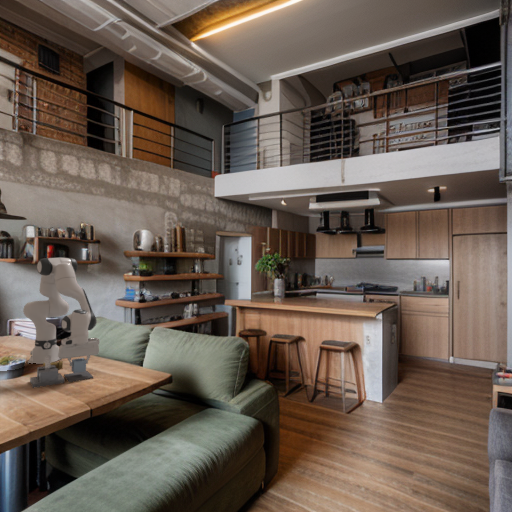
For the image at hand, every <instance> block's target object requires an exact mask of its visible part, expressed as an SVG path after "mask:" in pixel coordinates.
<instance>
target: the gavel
mask: <svg viewBox="0 0 512 512" xmlns="http://www.w3.org/2000/svg"><path fill="white" fill-rule="evenodd" d="M63 363H64V362H63V361H62V360H58V362H57V361H55V362H51V363H50V365H55V366H56V368H57V369H58V370H60V369H61V368H62V369H63ZM43 366H45V363H43V365H42V367H43ZM62 369H61V370H62Z"/></svg>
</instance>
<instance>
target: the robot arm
mask: <svg viewBox="0 0 512 512" xmlns="http://www.w3.org/2000/svg"><path fill="white" fill-rule="evenodd" d="M36 266H37V267H36V268H37V269H36V270H37V272H38V274H39V275H41V277H40V283H39V293H40V294H41V295H42V296H43V297H46V298H48V299H47V300H34V301H29V302H26V303H25V305H24V307H23V308H22V309H23V310H22V312H23V314H24V316H25V318H28V319H29V320H30V321H31V322H32V323H33V324H34V328H35V339H34V347H33V348H32V350H30V354H29V355H30V357H29V359H28V361H27V364H29V363H31V364H33V363H36V364H35V365H42V364H43V363H45V356H51V363H53V362H57V361H61V360H65V359H67V361H68V362H69V366H70V367H72V366H73V362H72V358H73V359H74V358H79V357H86V358H85V360H86V365H87V364H89V360H90V358H91V356H95V355H99V353H100V346H99V345H100V339H99V338H97V337H89V334H90V333H89V331H92V330H93V329H94V328H95V327H96V325H97V322H98V321H97V317H96V315H95V312H94V311H93V309H92V306H91V303H90V301H89V297H88V295H87V292H86V291H85V289H84V288H83V287H81V286H80V285H79V283H78V281H77V275H76V273H77V271H78V262H77V260H76V259H75V258H72V257H44V258H40V259H39V260H38V261H37V264H36ZM62 296H63V297H64V296H65V297H68V298H72V299H74V300H76V301H77V302H78V303H79V306H80V308H78V309H75V310H73V311H72V313H70V314H68V313H69V311H70V304H69V302H67V301H66V300H65V299H64V298H63V297H62ZM63 316H64V317H63ZM57 317H58V318H59V317H63V318H62V319H61V323H60V324H61V329H62V330H63V331H64V332H66V333H70V336H68V337H65V338H62V339H61V340H60V343H61V344H60V346H58V345H57V341H58V340H57V326H56V325H55V324H54V323H52V322H48V321H47V318H57Z"/></svg>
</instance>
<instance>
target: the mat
mask: <svg viewBox="0 0 512 512" xmlns="http://www.w3.org/2000/svg"><path fill="white" fill-rule="evenodd" d="M64 376H65V377H64ZM63 377H64V379H65V380H66V381H67V380H68V381H67V382H68V383H73V381H74V382H79V380H80V381H85V379H86V380H91V379H90V378H92V379H94V376H93V375H92V374H91V372H90V371H88V370H86V371H84V372H78V373H73V372H71V373H65V374H63Z"/></svg>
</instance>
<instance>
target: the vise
mask: <svg viewBox="0 0 512 512" xmlns="http://www.w3.org/2000/svg"><path fill="white" fill-rule="evenodd" d="M50 363H52V362H51V356H45V366H43V365H42V366H37V368H36V369H37V371H36V376H32V377H30V378H29V382H30V385H31V384H32V385H31V388H32V389H35V388H34V387H37V388H41V387H40V386H43V387H47V386H46V385H49V386H53V384H55V385H60V383H61V384H65V380H66V378H65V377H64V375H62V373H60V372H59V368H58V369H57V368H56V366H55V365H50Z"/></svg>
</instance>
